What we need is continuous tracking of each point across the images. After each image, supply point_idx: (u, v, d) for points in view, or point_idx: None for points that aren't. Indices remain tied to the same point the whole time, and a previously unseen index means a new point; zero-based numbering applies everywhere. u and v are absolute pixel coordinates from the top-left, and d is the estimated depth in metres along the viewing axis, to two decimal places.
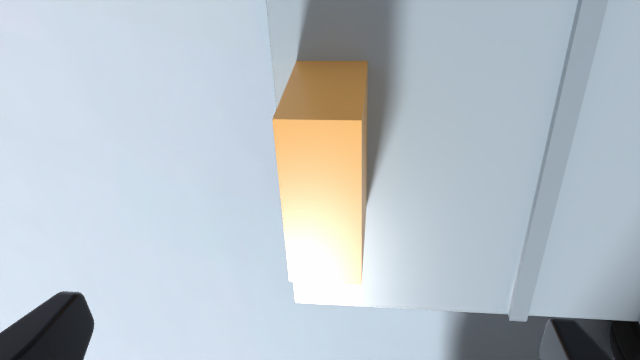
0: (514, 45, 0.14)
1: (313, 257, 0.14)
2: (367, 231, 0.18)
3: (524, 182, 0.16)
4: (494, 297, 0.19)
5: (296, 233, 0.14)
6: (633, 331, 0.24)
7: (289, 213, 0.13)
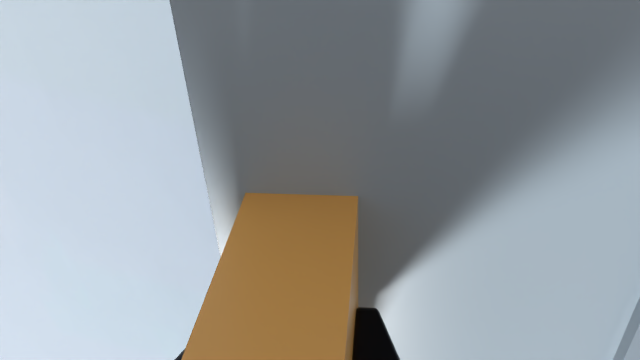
0: (597, 181, 0.08)
1: None
2: None
3: (594, 357, 0.11)
4: None
5: None
6: None
7: None
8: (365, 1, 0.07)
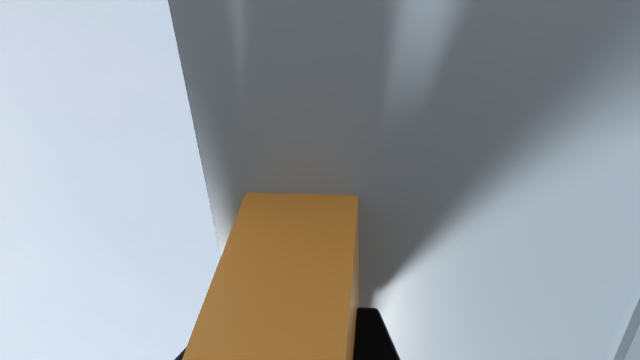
0: (598, 179, 0.08)
1: None
2: None
3: (595, 355, 0.11)
4: None
5: None
6: None
7: None
8: (364, 0, 0.07)
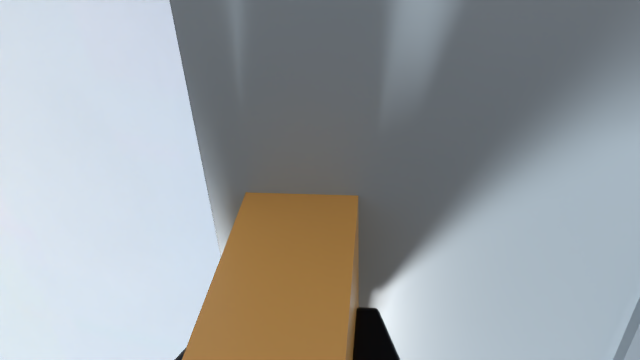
0: (598, 180, 0.08)
1: None
2: None
3: (594, 356, 0.11)
4: None
5: None
6: None
7: None
8: (365, 0, 0.07)
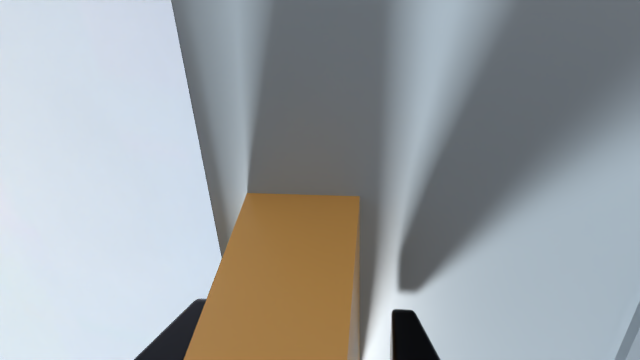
0: (599, 181, 0.08)
1: None
2: None
3: (595, 357, 0.11)
4: None
5: None
6: None
7: None
8: (367, 1, 0.07)
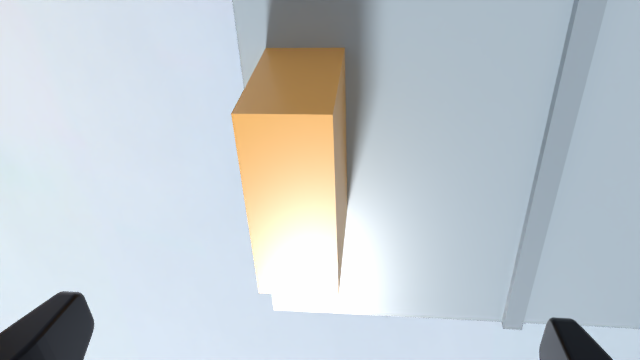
0: (507, 29, 0.12)
1: (284, 267, 0.13)
2: (349, 234, 0.16)
3: (519, 181, 0.15)
4: (486, 304, 0.18)
5: (264, 241, 0.12)
6: None
7: (255, 219, 0.12)
8: None
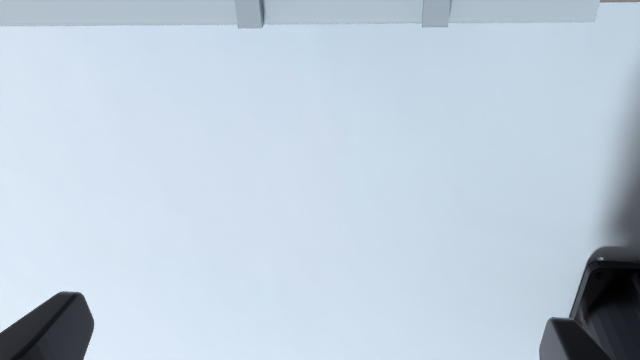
0: None
1: None
2: None
3: None
4: None
5: None
6: None
7: None
8: None
